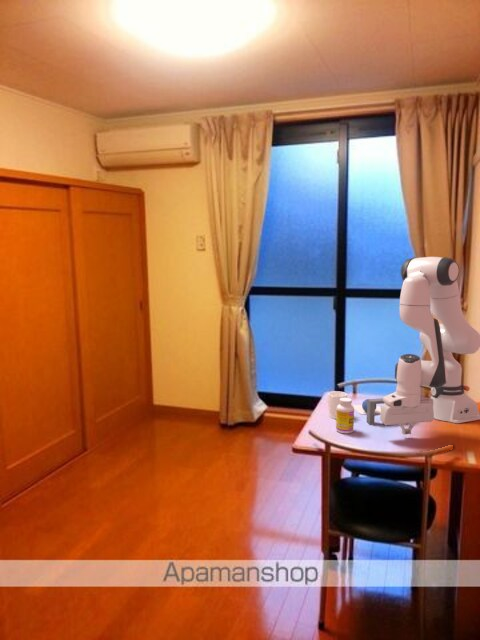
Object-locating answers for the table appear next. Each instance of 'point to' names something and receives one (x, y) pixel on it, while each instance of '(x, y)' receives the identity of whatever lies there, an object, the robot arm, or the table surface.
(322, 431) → the table surface
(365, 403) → the ball
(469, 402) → the robot arm
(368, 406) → the bridge
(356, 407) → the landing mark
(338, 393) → the white cup
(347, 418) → the supplement bottle
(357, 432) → the table surface
